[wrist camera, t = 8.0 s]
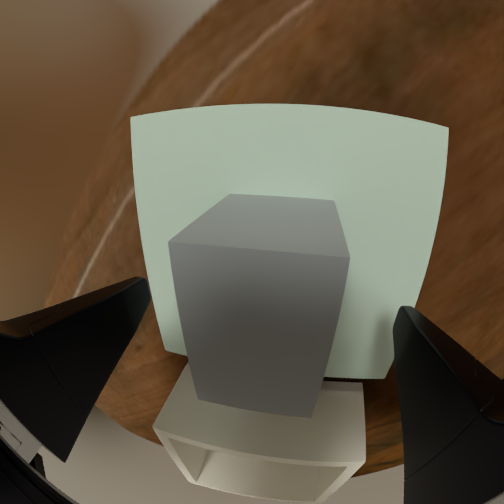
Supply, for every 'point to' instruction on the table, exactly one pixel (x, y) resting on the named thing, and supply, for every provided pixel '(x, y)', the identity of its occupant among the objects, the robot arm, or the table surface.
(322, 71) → the table surface
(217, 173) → the lid
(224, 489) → the box
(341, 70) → the table surface
